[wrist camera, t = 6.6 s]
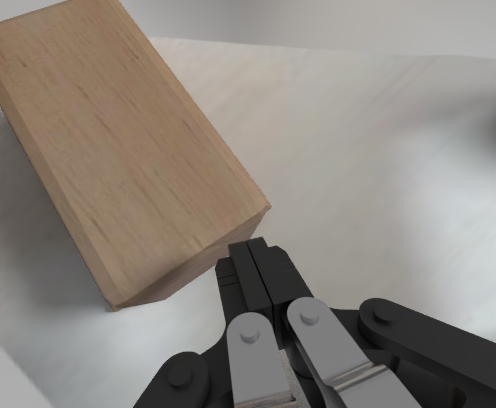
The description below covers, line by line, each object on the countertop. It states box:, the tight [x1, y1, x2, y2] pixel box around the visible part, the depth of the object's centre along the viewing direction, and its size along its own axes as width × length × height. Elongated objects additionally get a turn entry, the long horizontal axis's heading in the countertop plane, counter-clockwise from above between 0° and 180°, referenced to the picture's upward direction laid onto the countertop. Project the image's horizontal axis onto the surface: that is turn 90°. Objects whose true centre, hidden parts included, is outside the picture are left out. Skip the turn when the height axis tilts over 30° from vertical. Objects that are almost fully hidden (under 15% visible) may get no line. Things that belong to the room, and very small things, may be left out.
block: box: [0, 0, 268, 309], centre depth 20 cm, size 10×10×20 cm
